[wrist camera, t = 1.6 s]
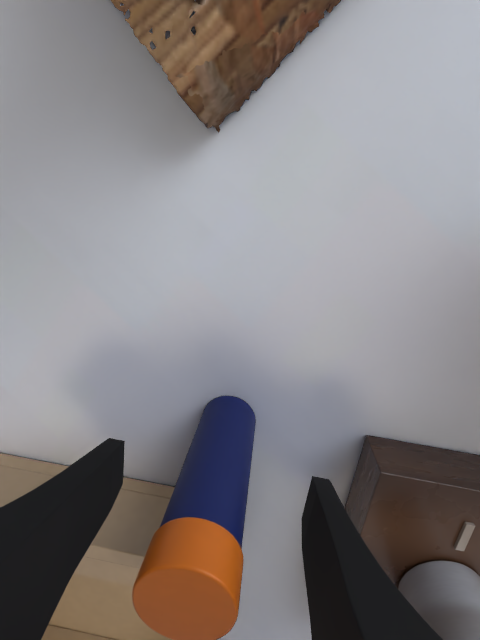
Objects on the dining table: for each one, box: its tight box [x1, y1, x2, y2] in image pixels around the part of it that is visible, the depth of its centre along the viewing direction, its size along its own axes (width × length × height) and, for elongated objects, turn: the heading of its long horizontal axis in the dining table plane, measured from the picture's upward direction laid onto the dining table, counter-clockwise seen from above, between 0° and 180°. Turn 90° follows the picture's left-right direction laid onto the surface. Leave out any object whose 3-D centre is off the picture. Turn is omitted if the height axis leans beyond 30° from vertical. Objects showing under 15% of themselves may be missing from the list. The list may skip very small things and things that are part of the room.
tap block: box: [345, 435, 480, 588], centre depth 17 cm, size 11×8×3 cm
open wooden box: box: [0, 453, 175, 640], centre depth 19 cm, size 13×14×4 cm
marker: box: [132, 396, 256, 640], centre depth 13 cm, size 3×3×8 cm
